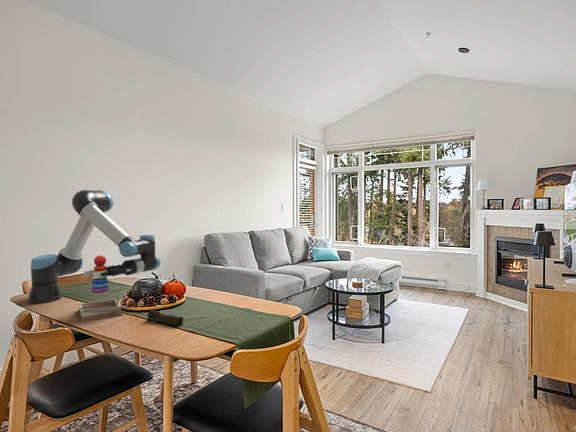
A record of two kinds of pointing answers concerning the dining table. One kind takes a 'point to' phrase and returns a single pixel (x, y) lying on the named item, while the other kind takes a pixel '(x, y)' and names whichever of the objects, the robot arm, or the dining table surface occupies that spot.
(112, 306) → the grey wooden tray
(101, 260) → the stacking toy
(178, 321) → the hand tool
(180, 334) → the dining table surface
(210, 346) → the dining table surface
